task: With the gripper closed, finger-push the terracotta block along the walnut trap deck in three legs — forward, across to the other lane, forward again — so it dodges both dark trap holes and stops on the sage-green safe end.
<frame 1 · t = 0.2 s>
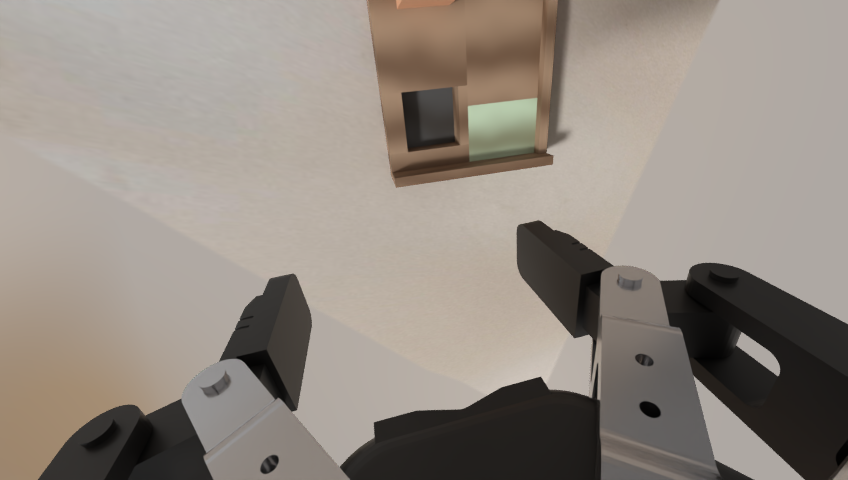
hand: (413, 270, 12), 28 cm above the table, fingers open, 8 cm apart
trap deck: (458, 32, 34), on the table
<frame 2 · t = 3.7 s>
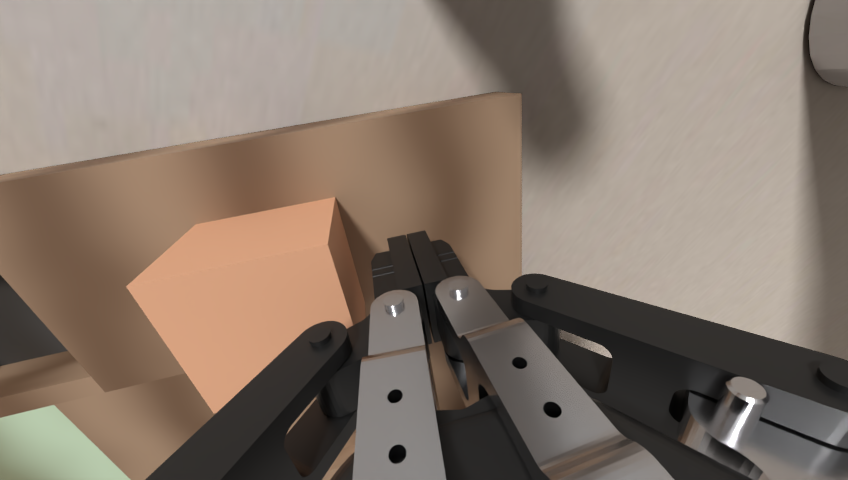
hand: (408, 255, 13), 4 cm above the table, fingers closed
terracotta block: (289, 267, 13), point 3 cm above the table, touching gripper
trap deck: (243, 325, 17), on the table
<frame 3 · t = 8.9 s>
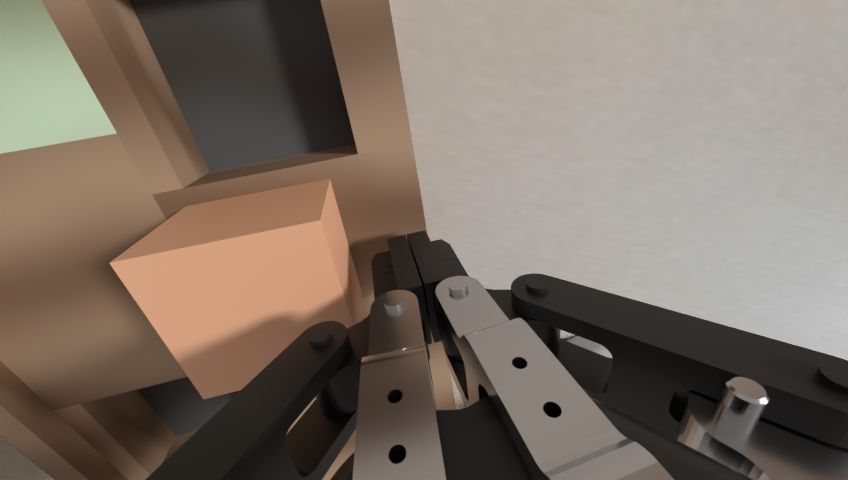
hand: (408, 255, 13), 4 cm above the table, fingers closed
salt shaker: (569, 355, 23), on the table
terracotta block: (283, 252, 13), point 3 cm above the table, touching gripper
trap deck: (237, 277, 15), on the table
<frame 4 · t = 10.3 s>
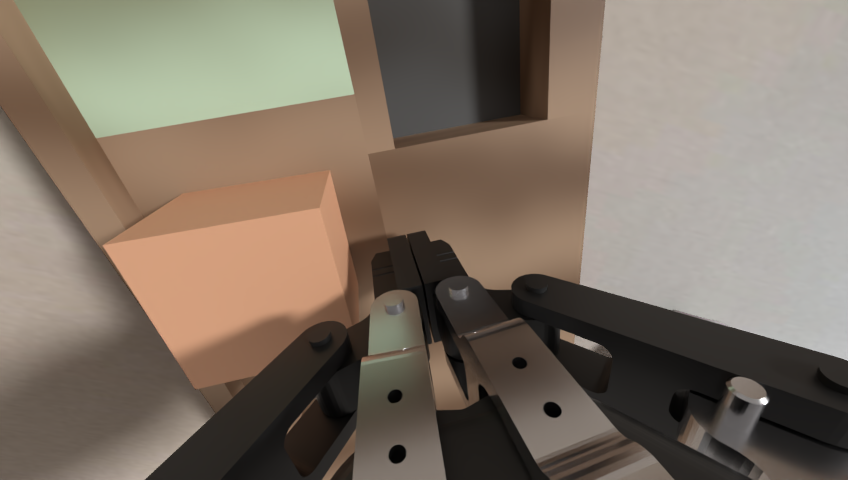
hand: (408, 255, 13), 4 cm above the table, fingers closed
terracotta block: (280, 243, 13), point 3 cm above the table, touching gripper
trap deck: (388, 244, 16), on the table
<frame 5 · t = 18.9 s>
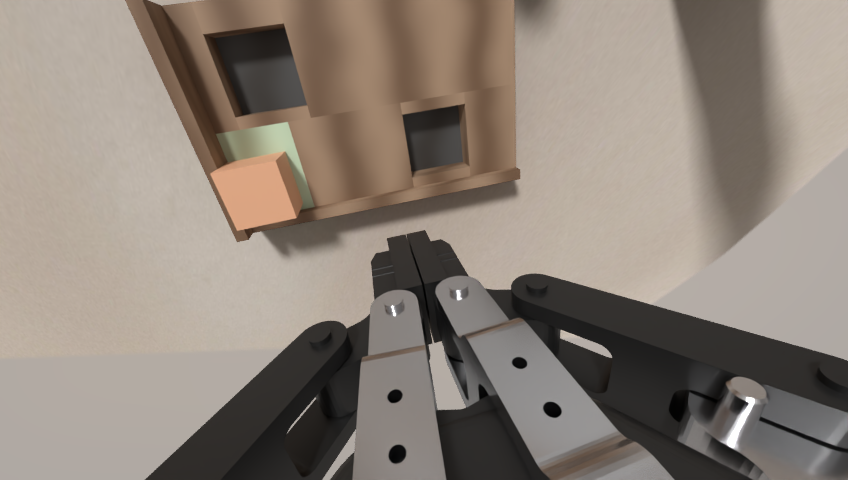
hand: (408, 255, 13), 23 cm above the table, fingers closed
terracotta block: (267, 183, 30), point 2 cm above the table, touching trap deck
trap deck: (366, 106, 31), on the table
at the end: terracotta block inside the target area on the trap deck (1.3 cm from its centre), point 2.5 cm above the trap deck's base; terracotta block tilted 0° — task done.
